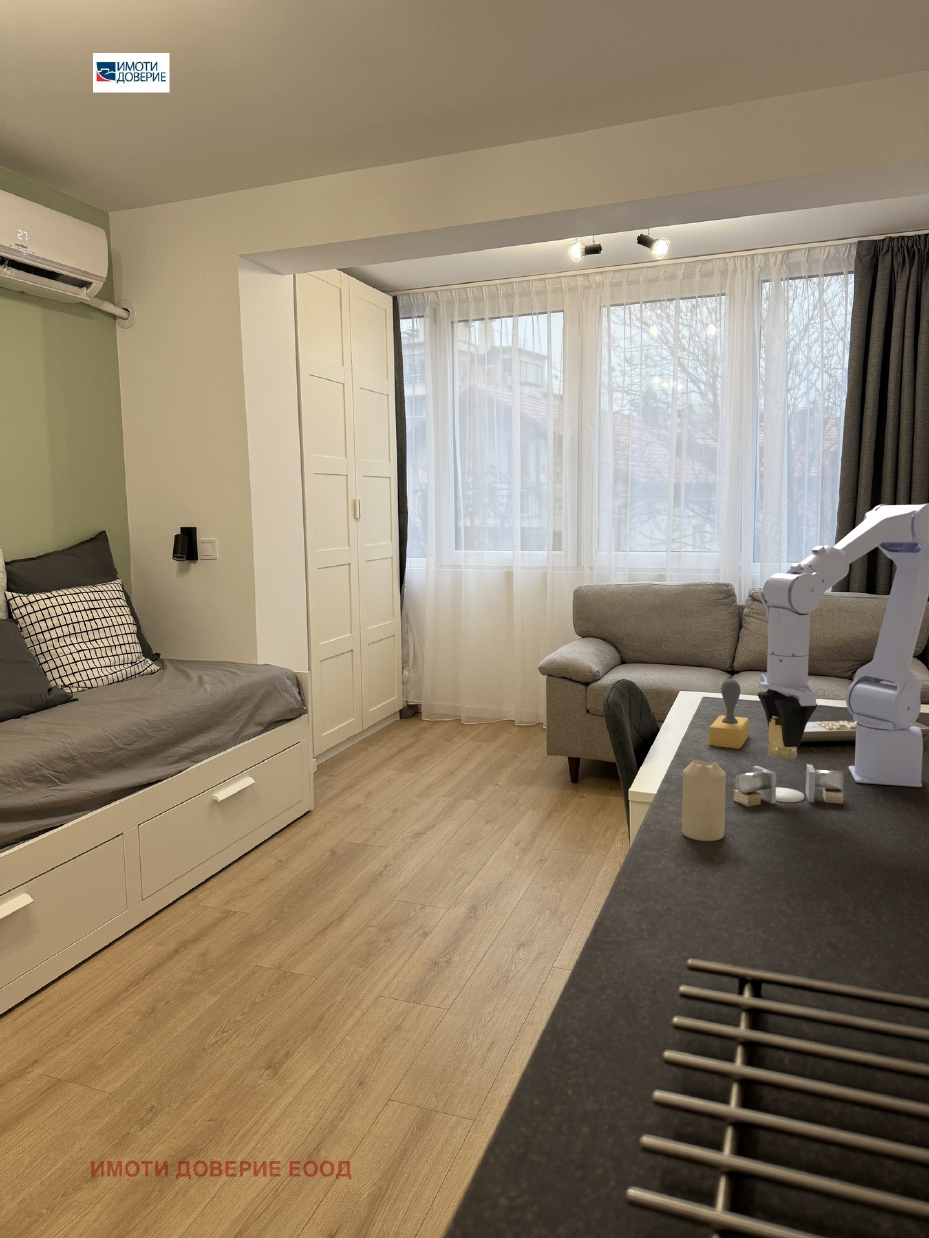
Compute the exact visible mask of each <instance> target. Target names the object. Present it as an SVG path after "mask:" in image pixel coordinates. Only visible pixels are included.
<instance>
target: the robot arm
mask: <svg viewBox="0 0 929 1238" xmlns="http://www.w3.org/2000/svg"><path fill="white" fill-rule="evenodd" d="M864 514H865V515H864V518H863V520H862V522H861V523H860V524H858V525H857V526H856V527H855V528H854V529H852V530H851V531H850V532H849V533H848V534H846V536H844V537H843V538H842V539H841V540H839V541H838V542H837V543H836V544H835V545H834V546H831V545H816V546H815V547H813V548H812V549H811V550H810V551H811V553H810V554H808V556H806V557H804V558H803V559H801V560H800V561H799V562H798V563H795V562H794V563H793V564H792V565H790V567H789V569H788V570H787V571H786V572H785V573H784V572H777V573H774V574H772V575H771V576H770V577H769V578H768V579H767V580H766V581H765V583H764V585H763V588H762V591H759V595H760V601H761V603H762V605H763V606H764V608H765V618H766V620H767V621H768V629H767V630H768V632H767V660H766V661H767V663H766V665H767V666H766V673H761V674H760V682H759V684H758V687H759V688H761V689H765V690H766V689H767V690H766V691H759V692H757V697H758V699H759V700H760V703H761V705H762V708H763V710H764V713H765V717H766V722H767V726H768V728H769V722H770V721H771V719H772V718H773V716H774V715H779V716H780V720H781V726H782V739H783V744H784V746H785V747H797V748H799V747H800V745H801V743H802V740H803V737H804V733H805V729H806V727H807V724H808V722H809V720H810V718H811V716H812V715H813V713H814V712H815V710H817V706H818V704H817V692H816V691H814V690H813V689H812V686H810V684H809V683H808V680H809V679H808V678H809V654H810V653H809V650H810V630H811V629H810V627H811V626H810V623H811V613H812V612H813V611H815V610H816V609H817V607H818V606H819V604H820V601H821V598H822V597H823V596H824V595H825V592H826V591H828V590H829V589H831V588H832V587H833V586H835V585H837V583H839V581H841V580H843V579H844V578H845V577H846V576H847V575H848V574H849V572H850V565H851V564H852V563H853V562H855V561H857V560H858V559H859V558H861V557H864V555H866V554H868V553H869V552H871V551H872V550H874V549H875V548H877V547H878V549H880V551H881V552H882V553H883V554H884V555H885V556H886V557H887V558H888V559H890V560H892V561H893V563H894V564H895V566H896V571H895V573H894V579H893V581H892V586H891V589H890V593H889V597H888V600H887V604H886V605H887V606H886V609H885V613H884V616H883V619H882V623H881V627H880V631H879V635H878V639H877V643H876V646H875V650H874V651H875V652H874V654H873V657H872V661H870V662H869V663H866V664H865V665H863V666H861V667H860V668H858V669H857V670H856V674H855V676H854V679H853V681H852V683H851V684H850V685H849V687H848V689H847V691H846V695H845V696H846V697H845V704H846V708H847V710H848V712H849V713H850V714H851V715H852V721H853V722H856V725H855V727H856V729H855V730H856V731H855V750H854V765H849V766H848V770H849V772H850V773H851V776H852V777H853V780H854V782H855V783H859V784H874V785H886V786H888V785H889V786H899V787H900V786H903V787H914V788H921V787H923V784H922V774H923V773H922V770H923V753H924V752H923V751H924V740H923V739H924V738H923V733H922V730H921V728H920V727H919V726H915V725H914V726H913V724H914V723H915V722H916V720H917V719H918V718H919V715H920V712H921V708H922V704H921V691H922V687H923V684H922V682H921V681H920V680H919V679H918V677H916V676H915V674H914V673H913V672H912V671H911V668H910V667H911V664H912V660H913V656H914V653H915V649H916V644H917V642H918V637H919V634H920V629H921V626H922V622H923V618H924V614H925V610H926V607H927V604H928V603H927V602H928V599H929V503H923V504H895V505H893V504H892V505H891V504H890V505H888V504H879V505H876V506H875V507H874V508H872V509H871V510H870V511H867V512H865V513H864ZM882 682H887V683H892V684H895V685H892V684H887V683H882Z"/></svg>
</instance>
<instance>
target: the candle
mask: <svg viewBox="0 0 929 1238" xmlns="http://www.w3.org/2000/svg"><path fill="white" fill-rule="evenodd" d="M726 782H727V773H726V772H725V771H724V770H723V768H722V767H721V766H720V765H719V764H718V763H717V762H715V761H713V762H707V761H704V760H697V759H693V760H692V761H691V762H690V763H689V764H688V765H687V766H686V767H685V768H684V769H683V771H682V798H681V799H682V802H681V803H682V805H681V810H682V811H681V833H682V835H684V836H685V837H687V838H688V839H691V840H694V841H695V840H696V841H700V842H715V841H719V840H722V839H723V838H724V836H725V824H726V822H725V821H726V792H727V791H726V789H727V788H726V786H727V784H726Z"/></svg>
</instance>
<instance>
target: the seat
mask: <svg viewBox="0 0 929 1238" xmlns="http://www.w3.org/2000/svg"><path fill="white" fill-rule="evenodd" d="M804 799H805V794H804V793H803V792H801V791H799V790H796V789H792V788H788V787H778V786H776V801H775V802H780V803H799V802H802V801H804Z"/></svg>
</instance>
